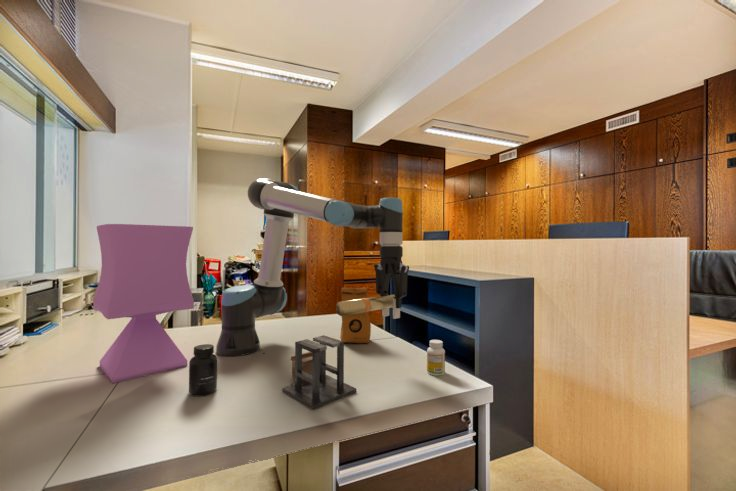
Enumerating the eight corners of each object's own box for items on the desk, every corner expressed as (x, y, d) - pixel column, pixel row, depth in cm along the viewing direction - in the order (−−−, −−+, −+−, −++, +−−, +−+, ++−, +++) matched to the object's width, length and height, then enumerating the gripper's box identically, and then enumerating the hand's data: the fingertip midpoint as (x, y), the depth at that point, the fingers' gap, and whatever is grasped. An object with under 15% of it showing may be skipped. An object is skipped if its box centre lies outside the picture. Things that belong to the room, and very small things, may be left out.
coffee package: (370, 345, 132) (370, 289, 132) (338, 344, 133) (339, 288, 133) (371, 338, 142) (371, 286, 142) (341, 337, 143) (342, 285, 143)
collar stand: (282, 391, 90) (282, 341, 90) (324, 377, 100) (324, 332, 100) (313, 410, 80) (313, 353, 80) (356, 392, 90) (356, 342, 90)
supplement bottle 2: (433, 368, 108) (433, 337, 108) (448, 372, 104) (448, 341, 104) (423, 372, 104) (423, 341, 104) (438, 377, 101) (438, 345, 101)
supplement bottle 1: (205, 398, 86) (206, 351, 86) (182, 395, 88) (182, 349, 88) (222, 387, 93) (222, 343, 93) (200, 384, 94) (201, 342, 94)
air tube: (345, 317, 94) (345, 302, 94) (335, 314, 97) (335, 300, 97) (400, 307, 111) (401, 295, 111) (391, 305, 114) (391, 293, 114)
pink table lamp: (193, 365, 109) (194, 226, 109) (107, 386, 93) (108, 223, 93) (170, 350, 125) (171, 228, 125) (93, 366, 108) (93, 226, 108)
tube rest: (290, 376, 100) (290, 356, 100) (312, 370, 106) (312, 350, 106) (302, 383, 96) (303, 362, 96) (325, 375, 101) (325, 355, 101)
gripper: (419, 245, 107) (418, 319, 107) (380, 245, 119) (380, 311, 119) (403, 245, 102) (403, 323, 102) (364, 245, 114) (364, 314, 114)
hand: (391, 316), depth 111 cm, fingers closed on air tube, 4 cm apart
